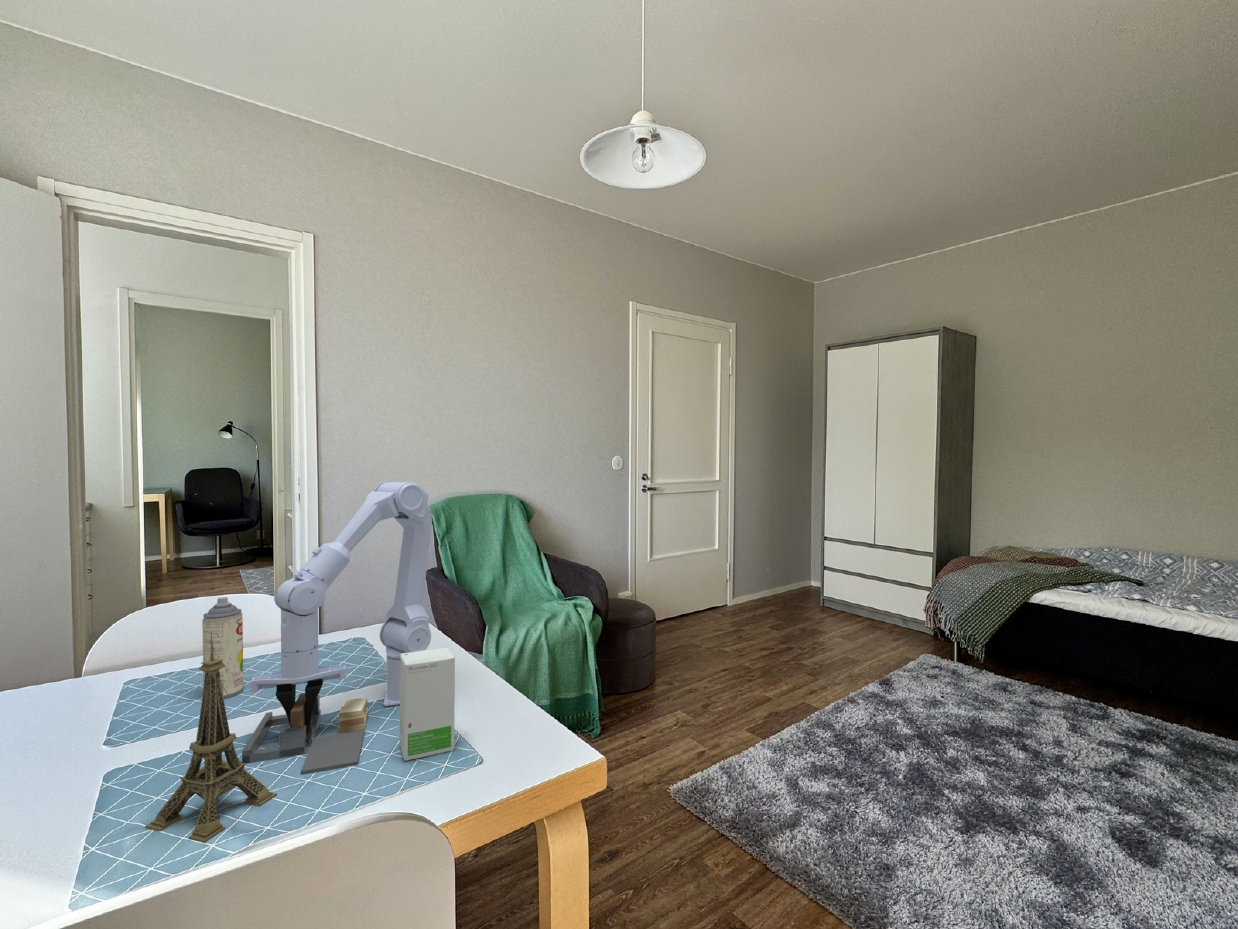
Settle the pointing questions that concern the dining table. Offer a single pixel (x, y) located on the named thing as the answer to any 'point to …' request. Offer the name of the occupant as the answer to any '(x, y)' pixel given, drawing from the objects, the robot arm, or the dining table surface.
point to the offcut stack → (353, 716)
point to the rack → (282, 737)
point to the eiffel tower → (211, 764)
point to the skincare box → (427, 703)
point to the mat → (333, 752)
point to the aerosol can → (225, 644)
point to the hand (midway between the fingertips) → (300, 724)
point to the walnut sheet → (299, 712)
